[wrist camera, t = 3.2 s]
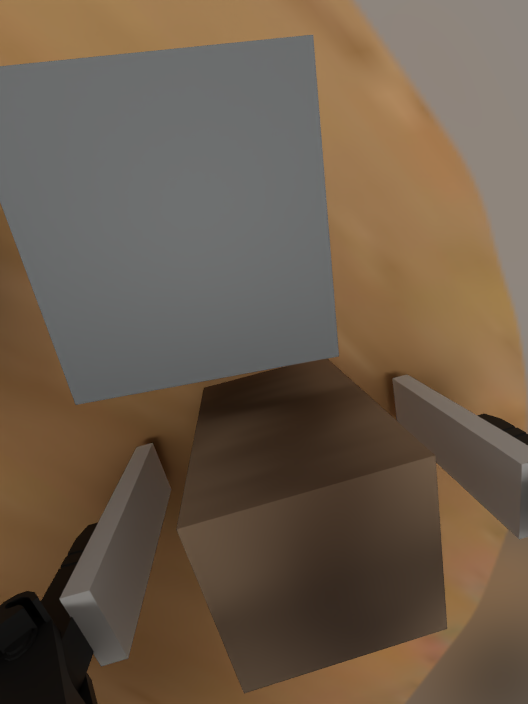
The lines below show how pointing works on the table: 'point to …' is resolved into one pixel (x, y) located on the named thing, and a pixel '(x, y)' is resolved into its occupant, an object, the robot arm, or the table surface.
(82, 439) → the table surface
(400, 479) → the walnut block
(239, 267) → the base block
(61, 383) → the table surface
